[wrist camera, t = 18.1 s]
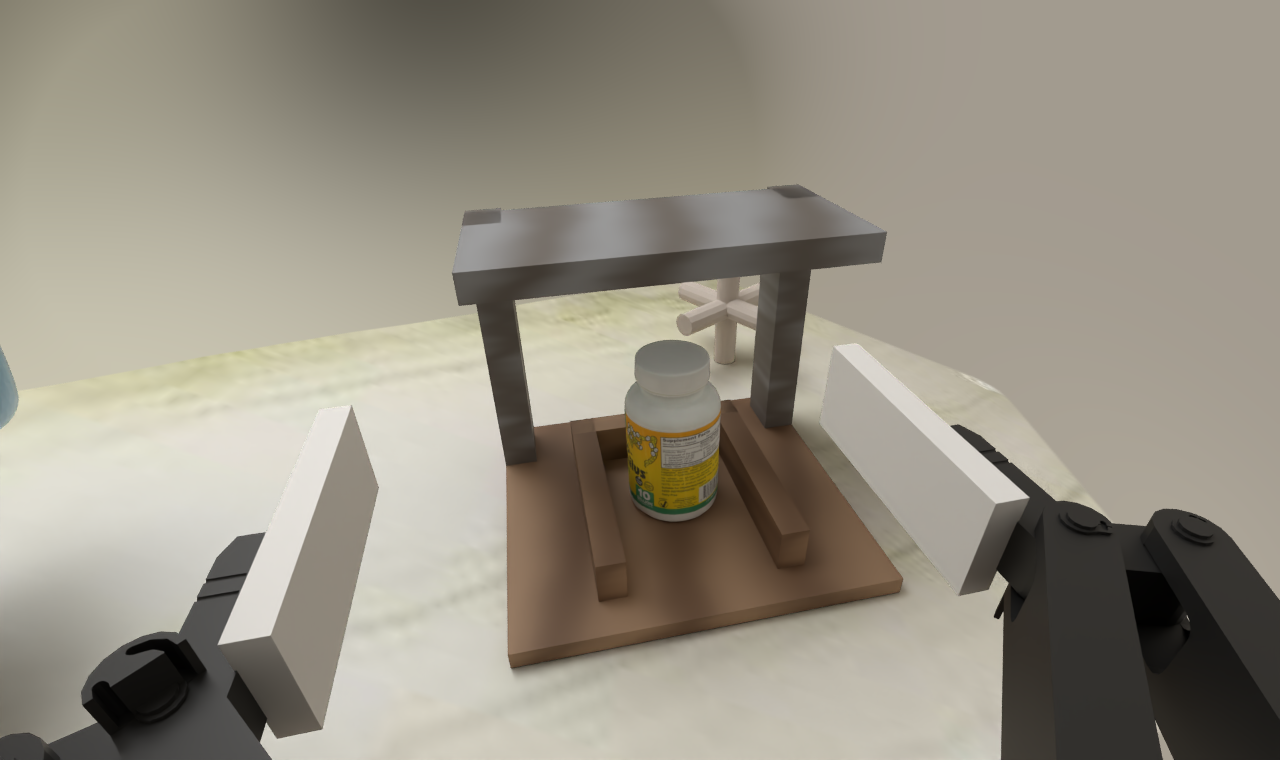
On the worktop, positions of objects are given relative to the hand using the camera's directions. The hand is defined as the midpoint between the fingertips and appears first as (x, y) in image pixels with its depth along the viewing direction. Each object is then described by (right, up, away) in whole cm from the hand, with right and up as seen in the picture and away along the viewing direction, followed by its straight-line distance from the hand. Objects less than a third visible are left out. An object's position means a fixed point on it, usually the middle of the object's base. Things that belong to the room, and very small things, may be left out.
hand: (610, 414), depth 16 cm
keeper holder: (+3, -7, +21) cm, 22 cm away
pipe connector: (+8, +3, +36) cm, 37 cm away
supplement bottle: (+3, -6, +20) cm, 21 cm away
